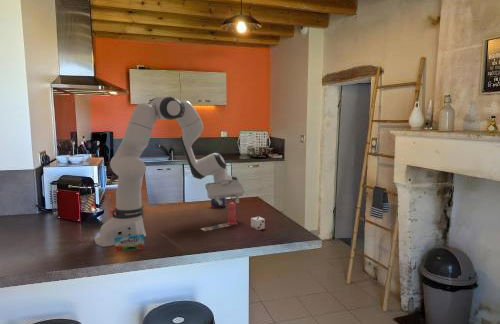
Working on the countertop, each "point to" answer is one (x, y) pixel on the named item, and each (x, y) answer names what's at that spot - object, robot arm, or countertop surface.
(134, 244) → the colorful food package
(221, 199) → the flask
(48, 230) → the countertop surface
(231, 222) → the pawn
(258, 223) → the die
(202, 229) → the game strip
